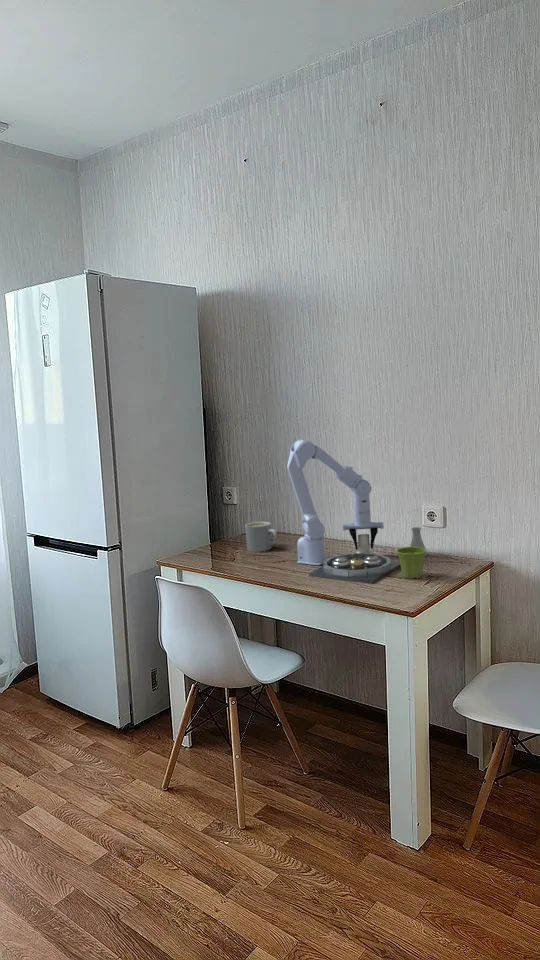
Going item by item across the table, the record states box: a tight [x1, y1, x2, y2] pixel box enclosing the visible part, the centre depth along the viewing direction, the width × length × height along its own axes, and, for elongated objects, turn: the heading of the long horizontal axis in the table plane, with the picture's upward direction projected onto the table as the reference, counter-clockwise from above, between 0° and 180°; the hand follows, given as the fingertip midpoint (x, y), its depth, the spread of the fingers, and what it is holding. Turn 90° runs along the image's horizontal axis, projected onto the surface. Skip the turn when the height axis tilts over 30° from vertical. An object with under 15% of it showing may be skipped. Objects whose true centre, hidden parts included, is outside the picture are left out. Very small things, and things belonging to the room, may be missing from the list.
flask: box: [409, 526, 429, 557], centre depth 245 cm, size 7×7×10 cm
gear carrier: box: [308, 553, 401, 584], centre depth 232 cm, size 24×24×4 cm
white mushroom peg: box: [356, 533, 374, 554], centre depth 249 cm, size 6×6×8 cm
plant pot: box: [396, 546, 427, 580], centre depth 220 cm, size 9×9×9 cm
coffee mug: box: [244, 521, 279, 553], centre depth 270 cm, size 13×10×10 cm
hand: (364, 548), depth 249 cm, fingers open, 5 cm apart
